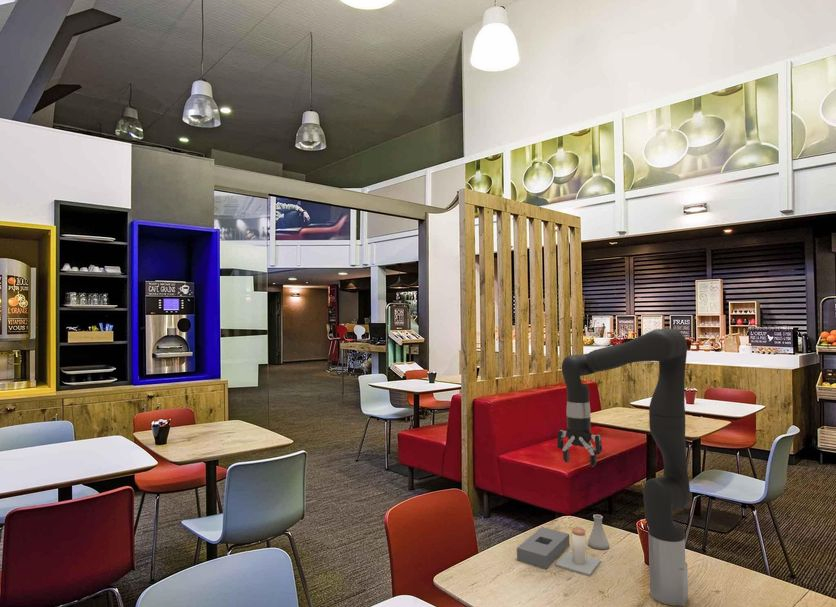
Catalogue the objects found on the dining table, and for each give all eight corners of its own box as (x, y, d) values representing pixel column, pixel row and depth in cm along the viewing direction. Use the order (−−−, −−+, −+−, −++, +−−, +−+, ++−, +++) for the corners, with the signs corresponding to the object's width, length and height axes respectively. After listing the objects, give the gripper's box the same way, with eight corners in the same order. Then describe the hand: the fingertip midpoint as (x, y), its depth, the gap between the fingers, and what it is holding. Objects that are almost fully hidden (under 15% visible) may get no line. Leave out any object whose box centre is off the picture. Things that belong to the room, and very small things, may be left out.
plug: (587, 560, 163) (587, 529, 163) (582, 565, 160) (582, 533, 160) (574, 557, 165) (574, 526, 165) (570, 562, 162) (570, 530, 162)
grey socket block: (569, 545, 175) (569, 533, 175) (546, 569, 159) (545, 556, 159) (542, 538, 181) (541, 526, 181) (517, 560, 165) (516, 547, 165)
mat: (601, 562, 163) (601, 560, 163) (589, 576, 154) (589, 574, 154) (567, 552, 170) (567, 550, 170) (555, 565, 161) (555, 564, 161)
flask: (612, 550, 171) (612, 520, 172) (591, 550, 171) (590, 520, 172) (605, 540, 179) (604, 512, 179) (584, 540, 179) (584, 512, 179)
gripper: (603, 415, 167) (605, 465, 167) (562, 411, 176) (563, 458, 175) (596, 419, 161) (597, 470, 161) (553, 414, 170) (554, 463, 169)
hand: (579, 464), depth 168 cm, fingers open, 8 cm apart
